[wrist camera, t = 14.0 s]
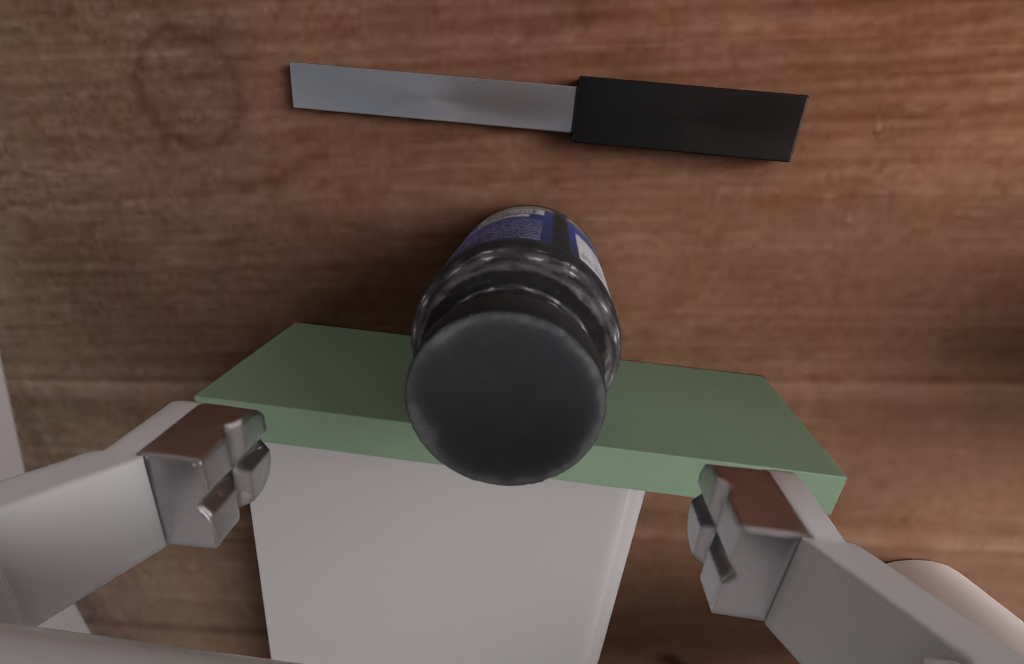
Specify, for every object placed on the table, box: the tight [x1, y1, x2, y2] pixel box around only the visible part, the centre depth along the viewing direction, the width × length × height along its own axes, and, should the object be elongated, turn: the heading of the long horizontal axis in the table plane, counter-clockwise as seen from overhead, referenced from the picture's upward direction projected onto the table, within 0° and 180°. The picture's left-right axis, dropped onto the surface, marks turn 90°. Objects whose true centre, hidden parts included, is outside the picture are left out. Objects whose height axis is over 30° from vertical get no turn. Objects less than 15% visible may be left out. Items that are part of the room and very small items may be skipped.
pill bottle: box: [405, 205, 621, 486], centre depth 16 cm, size 6×6×11 cm
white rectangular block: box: [250, 442, 645, 664], centre depth 26 cm, size 18×4×24 cm
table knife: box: [290, 62, 809, 162], centre depth 18 cm, size 19×2×1 cm, turn 85°
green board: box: [194, 322, 847, 515], centre depth 20 cm, size 22×2×7 cm, turn 85°
